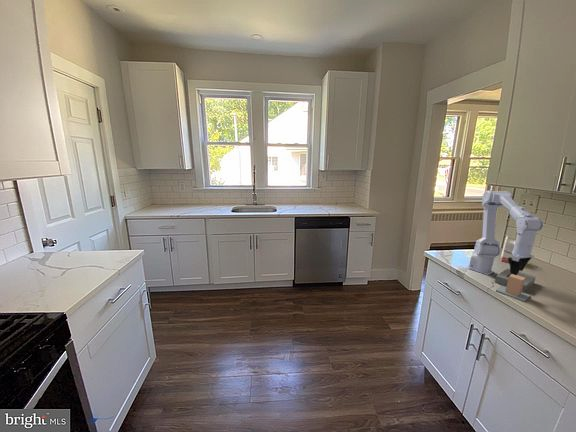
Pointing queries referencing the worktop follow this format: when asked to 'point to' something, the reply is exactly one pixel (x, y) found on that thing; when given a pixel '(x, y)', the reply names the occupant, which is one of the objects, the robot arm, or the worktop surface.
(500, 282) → the plate
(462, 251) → the worktop surface
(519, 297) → the mat
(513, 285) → the plug
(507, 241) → the ink cartridge box
